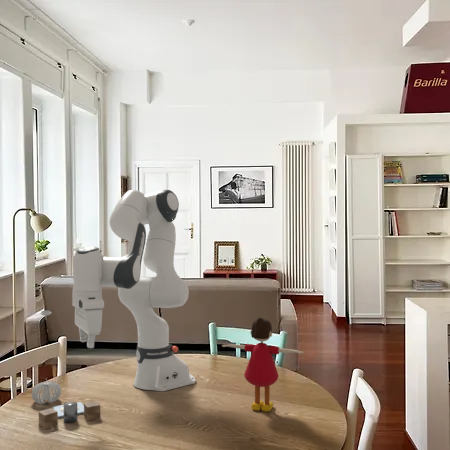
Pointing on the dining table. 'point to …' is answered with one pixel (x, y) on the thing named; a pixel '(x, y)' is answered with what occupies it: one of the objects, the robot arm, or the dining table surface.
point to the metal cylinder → (70, 412)
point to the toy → (261, 362)
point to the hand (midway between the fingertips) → (86, 344)
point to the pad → (61, 409)
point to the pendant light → (46, 386)
